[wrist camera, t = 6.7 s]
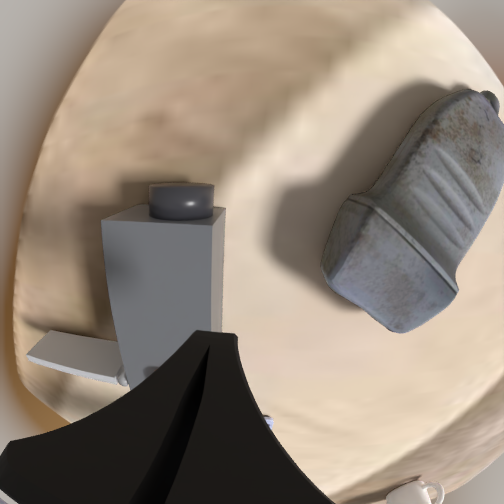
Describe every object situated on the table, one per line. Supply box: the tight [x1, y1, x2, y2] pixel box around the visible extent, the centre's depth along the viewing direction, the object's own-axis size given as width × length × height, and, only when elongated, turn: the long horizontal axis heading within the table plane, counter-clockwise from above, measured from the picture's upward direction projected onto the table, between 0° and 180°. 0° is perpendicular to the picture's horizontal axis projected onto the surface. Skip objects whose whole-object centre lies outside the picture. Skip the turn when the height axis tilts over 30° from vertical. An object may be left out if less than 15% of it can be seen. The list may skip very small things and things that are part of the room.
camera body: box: [101, 182, 226, 390], centre depth 17 cm, size 14×6×6 cm, turn 176°
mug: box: [386, 480, 444, 504], centre depth 28 cm, size 12×8×10 cm
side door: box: [26, 330, 128, 386], centre depth 19 cm, size 11×1×5 cm, turn 91°
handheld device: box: [321, 89, 504, 333], centre depth 15 cm, size 10×20×5 cm, turn 145°
